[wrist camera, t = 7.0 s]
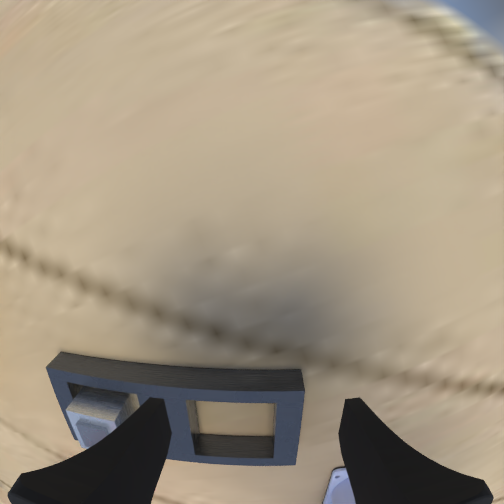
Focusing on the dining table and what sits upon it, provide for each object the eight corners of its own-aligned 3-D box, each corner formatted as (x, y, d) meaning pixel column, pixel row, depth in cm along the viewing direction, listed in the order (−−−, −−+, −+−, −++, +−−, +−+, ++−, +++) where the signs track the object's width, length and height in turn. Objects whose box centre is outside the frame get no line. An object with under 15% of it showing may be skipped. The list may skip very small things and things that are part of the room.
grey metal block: (145, 417, 23) (126, 462, 18) (104, 409, 23) (79, 450, 18) (137, 380, 22) (112, 425, 17) (93, 373, 22) (63, 413, 17)
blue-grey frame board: (293, 443, 23) (295, 465, 21) (85, 422, 24) (74, 439, 22) (301, 369, 21) (304, 390, 19) (60, 351, 22) (45, 367, 20)
